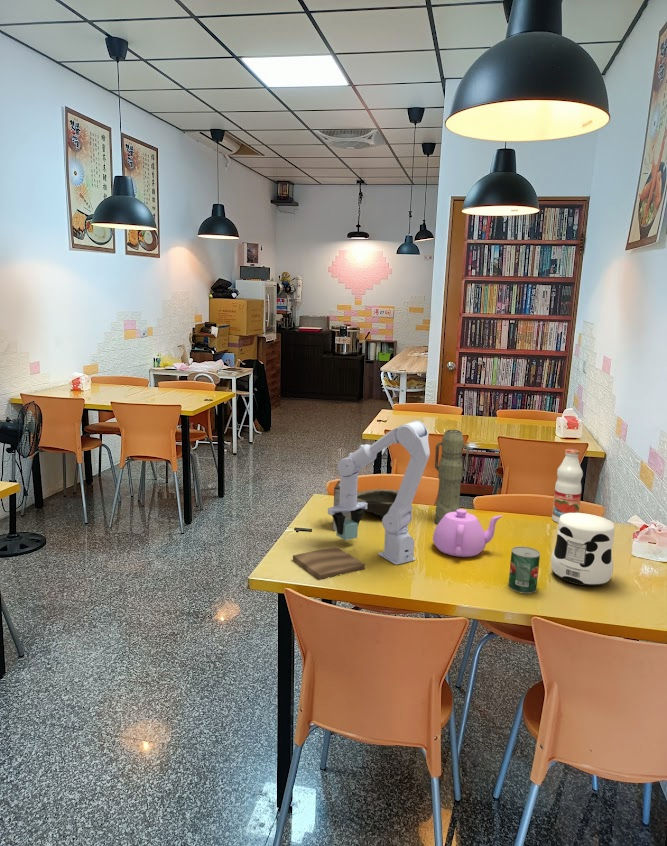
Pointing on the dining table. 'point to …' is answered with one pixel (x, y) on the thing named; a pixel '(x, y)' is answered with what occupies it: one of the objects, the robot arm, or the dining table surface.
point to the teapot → (462, 534)
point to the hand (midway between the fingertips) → (347, 532)
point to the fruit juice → (567, 486)
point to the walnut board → (328, 562)
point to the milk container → (583, 549)
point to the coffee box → (336, 502)
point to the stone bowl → (377, 500)
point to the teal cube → (349, 530)
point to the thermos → (450, 472)
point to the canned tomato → (524, 569)
